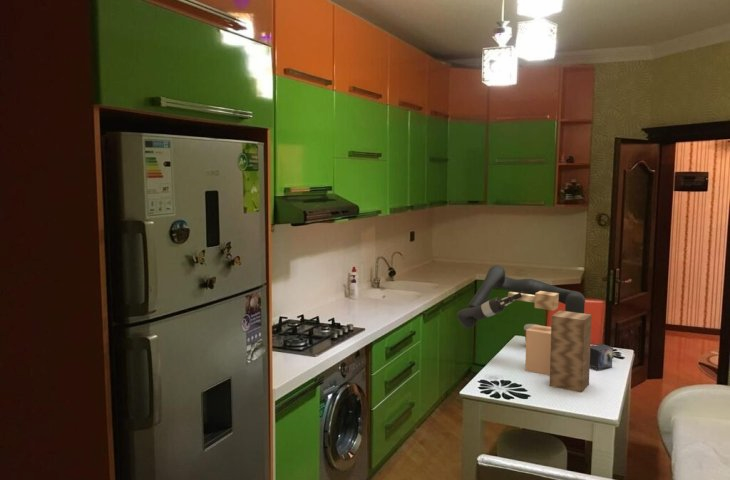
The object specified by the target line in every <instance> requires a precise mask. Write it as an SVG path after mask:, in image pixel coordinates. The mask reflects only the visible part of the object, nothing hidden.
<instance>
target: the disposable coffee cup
mask: <svg viewBox="0 0 730 480" xmlns="http://www.w3.org/2000/svg"><path fill="white" fill-rule="evenodd" d="M533 325H538V324H535V323H526V324H524V326H523V330H524V339H525V341H526V330H527V329H529V328H530V327H532V326H533Z"/></svg>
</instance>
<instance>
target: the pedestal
mask: <svg viewBox="0 0 730 480" xmlns="http://www.w3.org/2000/svg"><path fill="white" fill-rule="evenodd" d="M550 353H551V326H547V325H546V326H545V325H540V324H537V325H533V326H532V327H530V328H529V329H527V330H526V340H525V360H524V361H525V364H524V365H525V366H524V367H525V368H524V370H525V371H526V372H529V373H530V372H531V373H536V374H542V375H546V376H550Z"/></svg>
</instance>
